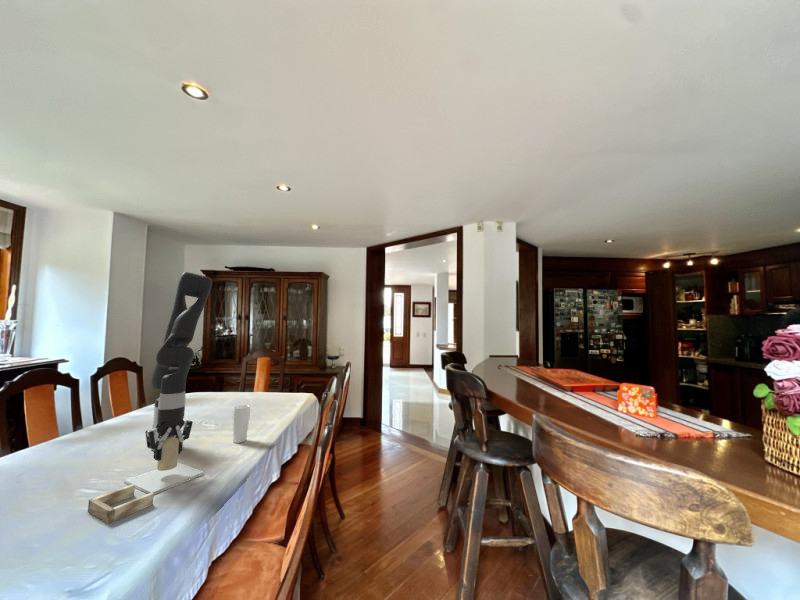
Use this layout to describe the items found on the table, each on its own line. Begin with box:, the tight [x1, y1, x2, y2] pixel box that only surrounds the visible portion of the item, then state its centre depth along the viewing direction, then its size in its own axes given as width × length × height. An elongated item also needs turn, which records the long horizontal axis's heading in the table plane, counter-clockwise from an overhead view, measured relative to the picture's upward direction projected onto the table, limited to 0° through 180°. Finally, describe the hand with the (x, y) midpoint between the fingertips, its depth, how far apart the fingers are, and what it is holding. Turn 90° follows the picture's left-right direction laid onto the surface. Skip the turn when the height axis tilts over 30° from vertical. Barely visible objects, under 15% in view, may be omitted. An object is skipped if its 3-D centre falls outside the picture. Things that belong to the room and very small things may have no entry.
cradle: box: [87, 484, 155, 524], centre depth 90 cm, size 10×11×3 cm
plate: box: [123, 462, 205, 495], centre depth 108 cm, size 16×16×1 cm
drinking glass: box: [232, 404, 251, 444], centre depth 144 cm, size 7×7×15 cm
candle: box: [156, 436, 179, 471], centre depth 109 cm, size 6×6×10 cm
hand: (167, 456), depth 108 cm, fingers closed on candle, 5 cm apart
